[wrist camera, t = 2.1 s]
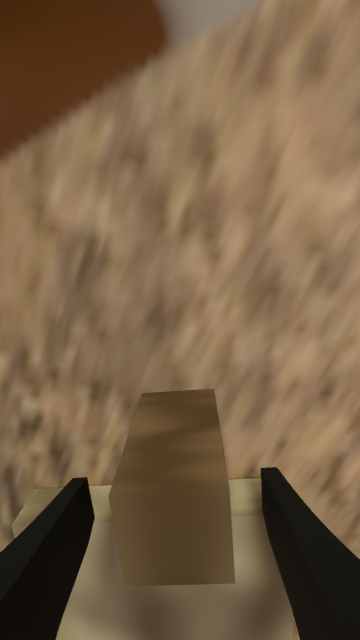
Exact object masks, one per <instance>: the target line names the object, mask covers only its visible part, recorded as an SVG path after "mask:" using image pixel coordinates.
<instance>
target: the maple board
mask: <svg viewBox="0 0 360 640" xmlns="http://www.w3.org/2000/svg"><path fill="white" fill-rule="evenodd" d="M228 483H229V489H230V503H231V520H232V537H233V553H234V570H235V584H200V585H162V586H125V585H124V580H123V574H122V569H121V563H120V557H119V552H118V546H117V541H116V535H115V530H114V524H113V519H112V513H111V508H110V502H109V497H108V496H109V493H110V490H111V487H112V485H104V486H89V489H90V494H91V500H92V505H93V510H94V515H95V519H94V523H93V528H92V532H91V536H90V540H89V544H88V547H87V550H86V553H85V556H84V559H83V561H82V564H81V567H80V570H79V573H78V576H77V578H76V581H75V584H74V587H73V589H72V592H71V595H70V598H69V601H68V603H67V606H66V609H65V612H64V614H63V618H62V621H61V624H60V627H59V630H58V633H57V637H56V640H293V611H292V608H291V605H290V602H289V599H288V596H287V593H286V590H285V587H284V584H283V581H282V578H281V575H280V572H279V569H278V566H277V562H276V559H275V556H274V553H273V550H272V547H271V544H270V541H269V538H268V533H267V529H266V525H265V520H264V516H263V511H262V490H261V478H252V479H231V480H228ZM63 488H64V487H62V488H41V489H35V490H34V491H33V493H32V495H31V496H30V498H29V499H28V501H27V502H26V504H25V505H24V507H23V508H22V510H21V512H20V513H19V515H18V516H17V518H16V519H15V521H14V522H13V524H12V530H13V533H14V537H15V538H16V537H17V536H18V535H19V534H20V533H21V532H22V531H23V530H24V529H25V528H26V527H27V526H28V525H29V524H30V523H31V522H32V521H33V520H34V519H35V518H36V517H37V516H38V515H39V514H40V513H41V512H42V511H43V510H44V509H45V508H46V507H47V505H48V504H49V503H50V502H51V501H52V500H53V499H54V498H55V497H56V496H57V495H58V494H59V492H60V491H61V490H62V489H63Z"/></svg>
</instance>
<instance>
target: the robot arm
mask: <svg viewBox="0 0 360 640" xmlns="http://www.w3.org/2000/svg"><path fill="white" fill-rule="evenodd" d="M261 490H262V511H263V516H264V520H265V525H266V529H267V533H268V538H269V541H270V544H271V547H272V550H273V553H274V556H275V559H276V562H277V566H278V569H279V572H280V575H281V578H282V581H283V584H284V587H285V590H286V593H287V596H288V599H289V602H290V605H291V608H292V611H293V615H294V618H295V622H296V625H297V629H298V633H299V637H300V640H360V559H359V558H357V557H356V556H355V555H354V554H353V553H352V552H351V551H350V550H349V549H348V548H347V547H346V546H345V545H344V544H343V543H342V542H341V541H340V540H339V539H338V538H337V537H336V536H335V535H334V534H333V533H332V532H331V531H330V530H329V529H328V528H327V527H326V526H325V525H324V524H323V523H322V522H321V521H320V520H319V518H318V517H317V516H316V515H315V514H314V513H313V512H312V511H311V509H310V508H309V507H308V506H307V505H306V504H305V503H304V501H303V500H302V499H301V498H300V497H299V495H298V494H297V493H296V492H295V490H294V489H293V488H292V487H291V485H290V484H289V483H288V481H287V480H286V479H285V477H284V476H283V475H282V473H281V472H280V471H279V469H278V468H276V467H272V468H261ZM94 519H95V515H94V510H93V505H92V500H91V494H90V489H89V484H88V479H87V477H84V478H73V479H72V480H71V481H70V482H69V483H68V484H67V485H66V486H65V487H64V488H63V489H62V490H61V491H60V492H59V494H58V495H57V496H56V497H55V498H54V499H53V500H52V501H51V502H50V503H49V504H48V505H47V507H46V508H45V509H44V510H43V511H42V512H41V513H40V514H39V515H38V516H37V517H36V518H35V519H34V520H33V521H32V522H31V523H30V524H29V525H28V526H27V527H26V528H25V529H24V530H23V531H22V532H21V533H20V534H19V535H18V536H17V537H16V538H15V539H14V540H13V541H12V542H11V543H10V544H9V545H8V546H7V547H6V548H5V549H4V550H3V551H1V552H0V640H56V637H57V633H58V630H59V627H60V624H61V621H62V618H63V614H64V612H65V609H66V606H67V603H68V601H69V598H70V595H71V592H72V589H73V587H74V584H75V581H76V578H77V576H78V573H79V570H80V567H81V564H82V561H83V559H84V556H85V553H86V550H87V547H88V544H89V540H90V536H91V532H92V528H93V523H94Z"/></svg>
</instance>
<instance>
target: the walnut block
mask: <svg viewBox="0 0 360 640" xmlns="http://www.w3.org/2000/svg"><path fill="white" fill-rule="evenodd" d="M108 497H109V502H110V508H111V513H112V519H113V524H114V530H115V535H116V541H117V546H118V552H119V557H120V563H121V569H122V574H123V580H124V585H125V586H162V585H200V584H235V570H234V553H233V537H232V520H231V503H230V489H229V483H228V476H227V470H226V464H225V457H224V451H223V445H222V438H221V432H220V426H219V419H218V413H217V407H216V400H215V394H214V389H202V390H187V391H172V392H156V393H142V396H141V399H140V402H139V405H138V408H137V411H136V414H135V417H134V420H133V423H132V426H131V429H130V432H129V435H128V438H127V441H126V444H125V447H124V451H123V454H122V457H121V460H120V463H119V466H118V469H117V472H116V475H115V478H114V481H113V484H112V487H111V490H110V493H109V496H108Z"/></svg>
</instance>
